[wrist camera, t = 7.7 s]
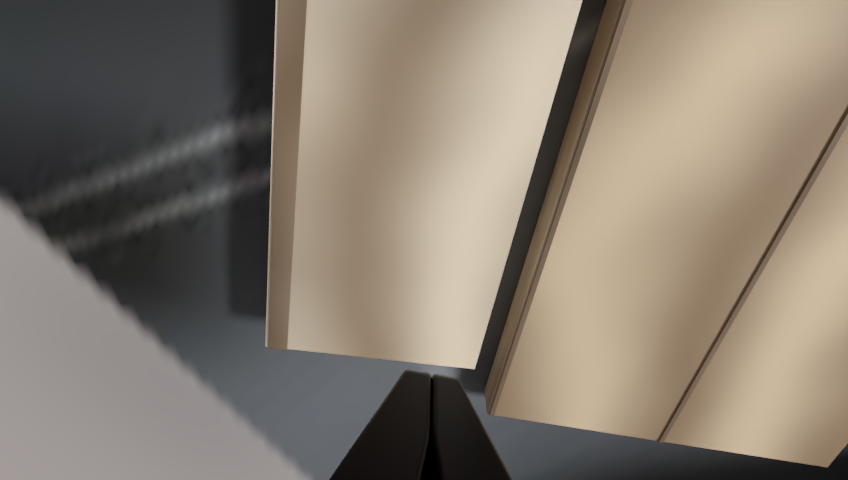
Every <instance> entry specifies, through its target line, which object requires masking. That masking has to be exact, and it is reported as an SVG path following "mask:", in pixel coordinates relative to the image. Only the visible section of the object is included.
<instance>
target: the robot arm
mask: <svg viewBox="0 0 848 480" xmlns="http://www.w3.org/2000/svg"><path fill="white" fill-rule="evenodd" d="M329 480H512V478H511V476H510V474H509V472H508V471H507V469H506V467H505V465H504V463H503V461H502V459H501V457H500V455H499V454H498V452H497V450H496V448H495V446H494V444H493V442H492V440H491V439H490V437H489V435H488V433H487V431H486V429H485V427H484V425H483V424H482V422H481V420H480V418H479V416H478V414H477V412H476V410H475V408H474V407H473V405H472V403H471V401H470V399H469V397H468V395H467V393H466V392H465V390H464V388H463V386H462V384H461V382H460V381H459V379H457V378H455V377H451V376H445V375H439V374H435V375H433V376H432V377H431V375H430V374H429V373H427V372H421V371H415V370H410V369H408V370H405V371H404V372H403V374H402V375H401V376H400V378H399V379H398V381H397V382H396V384H395V385H394V387H393V388H392V389H391V391H390V392H389V394H388V395H387V397H386V398H385V400H384V401H383V402H382V404H381V405H380V407H379V408H378V410H377V411H376V413H375V414H374V416H373V417H372V418H371V420H370V421H369V423H368V424H367V426H366V427H365V429H364V430H363V431H362V433H361V434H360V436H359V437H358V439H357V440H356V442H355V443H354V444H353V446H352V447H351V449H350V450H349V452H348V453H347V455H346V456H345V458H344V459H343V460H342V462H341V463H340V465H339V466H338V468H337V469H336V471H335V472H334V473H333V475H332V476H331V478H330V479H329Z"/></svg>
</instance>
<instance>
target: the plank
mask: <svg viewBox="0 0 848 480" xmlns="http://www.w3.org/2000/svg"><path fill="white" fill-rule="evenodd" d="M582 1H583V0H276V10H275V44H274V77H273V110H272V144H271V177H270V210H269V243H268V277H267V310H266V343H265V346H266V347H268V348H271V349H280V350H287V349H293V350H303V351H312V352H321V353H330V354H339V355H348V356H357V357H367V358H376V359H385V360H394V361H403V362H412V363H422V364H431V365H440V366H449V367H458V368H467V369H475V367H476V363H477V360H478V357H479V353H480V350H481V346H482V343H483V339H484V336H485V333H486V329H487V326H488V322H489V319H490V315H491V312H492V309H493V305H494V302H495V298H496V295H497V292H498V288H499V285H500V281H501V278H502V274H503V271H504V268H505V264H506V261H507V257H508V254H509V250H510V247H511V244H512V240H513V237H514V233H515V230H516V227H517V223H518V220H519V216H520V213H521V209H522V206H523V203H524V199H525V196H526V192H527V189H528V185H529V182H530V179H531V175H532V172H533V168H534V165H535V162H536V158H537V155H538V151H539V148H540V144H541V141H542V138H543V134H544V131H545V127H546V124H547V120H548V117H549V114H550V110H551V107H552V103H553V100H554V97H555V93H556V90H557V86H558V83H559V79H560V76H561V73H562V69H563V66H564V62H565V59H566V55H567V52H568V49H569V45H570V42H571V38H572V35H573V31H574V28H575V25H576V21H577V18H578V14H579V11H580V8H581V4H582Z"/></svg>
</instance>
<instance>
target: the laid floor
mask: <svg viewBox="0 0 848 480" xmlns="http://www.w3.org/2000/svg"><path fill="white" fill-rule="evenodd" d="M485 397H486V407H487V414H489V416H493V417H494V415H496V416H503V417H509V418H516V419H522V420H528V421H535V422H541V423H547V424H554V425H560V426H567V427H573V428H579V429H586V430H592V431H598V432H605V433H611V434H618V435H624V436H630V437H637V438H643V439H649V440H656V441H658V442H659V443H663V442H668V443H675V444H681V445H688V446H694V447H700V448H707V449H713V450H719V451H726V452H732V453H739V454H745V455H751V456H758V457H764V458H770V459H777V460H783V461H790V462H796V463H802V464H809V465H815V466H821V467H828V466H829V465H830V464H831V463H832V461H833V460H834V459H835V458H836V457H837V455H838V454H839V453H840V452H841V451H842V449H843V448H844V447H845V446H846V445H847V443H848V0H607V1H606V4H605V7H604V10H603V13H602V17H601V20H600V23H599V26H598V29H597V33H596V36H595V39H594V42H593V45H592V49H591V52H590V55H589V58H588V61H587V65H586V68H585V71H584V74H583V77H582V81H581V84H580V87H579V90H578V93H577V97H576V100H575V103H574V106H573V109H572V113H571V116H570V119H569V122H568V125H567V129H566V132H565V135H564V138H563V141H562V145H561V148H560V151H559V154H558V157H557V161H556V164H555V167H554V170H553V173H552V176H551V180H550V183H549V186H548V189H547V192H546V196H545V199H544V202H543V205H542V208H541V212H540V215H539V218H538V221H537V224H536V228H535V231H534V234H533V237H532V240H531V244H530V247H529V250H528V253H527V256H526V260H525V263H524V266H523V269H522V272H521V276H520V279H519V282H518V285H517V288H516V292H515V295H514V298H513V301H512V304H511V308H510V311H509V314H508V317H507V320H506V324H505V327H504V330H503V333H502V336H501V340H500V343H499V346H498V349H497V352H496V356H495V359H494V362H493V365H492V368H491V372H490V375H489V378H488V381H487V384H486V387H485Z"/></svg>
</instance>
